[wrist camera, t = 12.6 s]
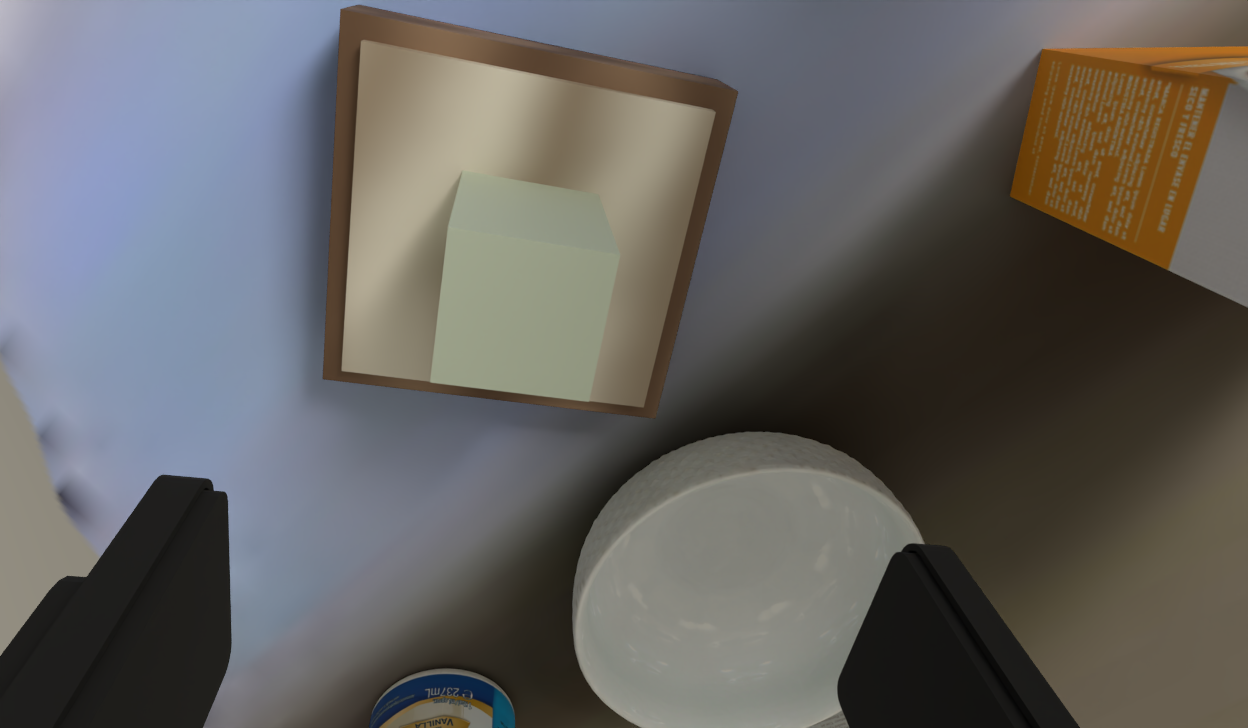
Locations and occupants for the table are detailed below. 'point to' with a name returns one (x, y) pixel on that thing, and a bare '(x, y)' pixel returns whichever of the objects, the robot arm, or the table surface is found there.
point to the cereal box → (1146, 155)
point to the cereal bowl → (733, 582)
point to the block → (524, 288)
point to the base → (516, 149)
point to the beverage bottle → (444, 702)
